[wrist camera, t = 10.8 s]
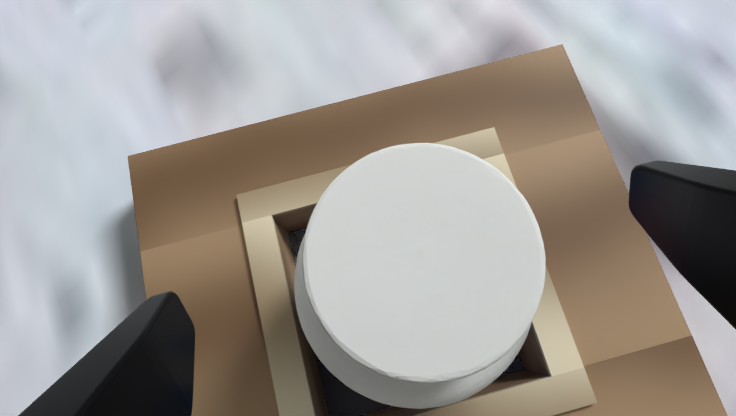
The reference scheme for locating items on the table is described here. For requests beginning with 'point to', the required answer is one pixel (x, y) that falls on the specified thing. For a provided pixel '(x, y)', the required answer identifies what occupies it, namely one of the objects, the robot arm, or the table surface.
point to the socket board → (405, 126)
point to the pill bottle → (419, 275)
